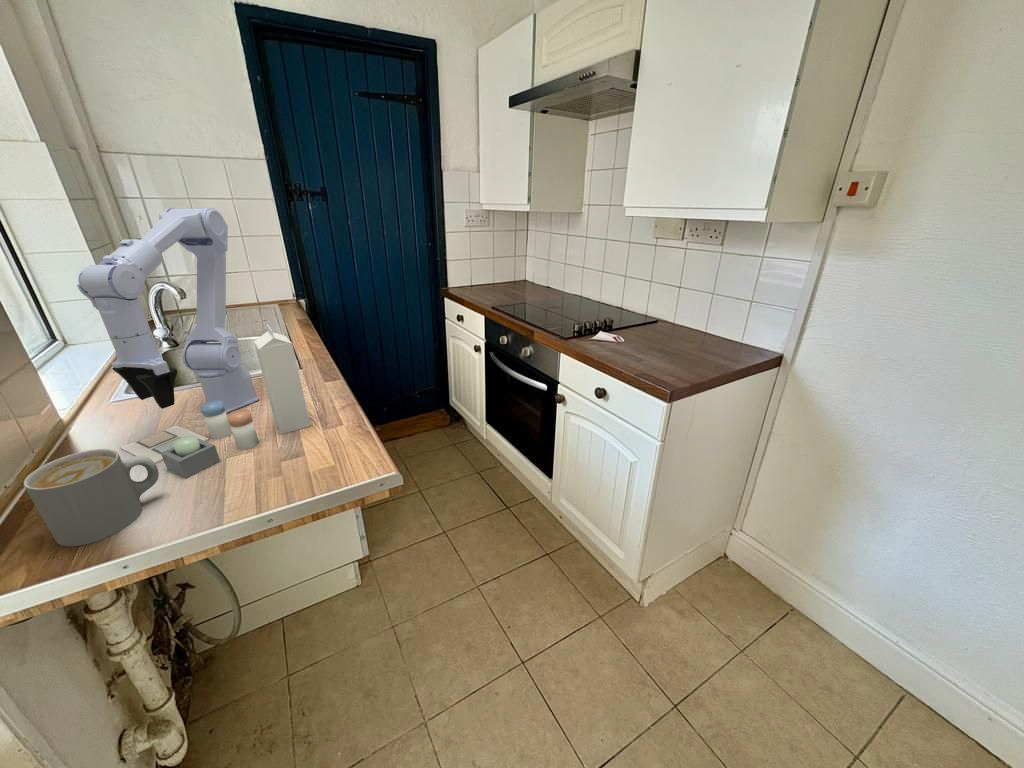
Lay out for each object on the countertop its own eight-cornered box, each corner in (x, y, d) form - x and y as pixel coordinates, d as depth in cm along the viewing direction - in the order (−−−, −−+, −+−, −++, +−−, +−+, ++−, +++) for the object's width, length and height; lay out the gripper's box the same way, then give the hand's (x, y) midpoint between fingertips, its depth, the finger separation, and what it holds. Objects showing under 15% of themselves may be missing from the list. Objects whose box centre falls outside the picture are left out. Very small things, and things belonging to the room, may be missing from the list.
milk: (280, 435, 88) (253, 333, 79) (275, 423, 93) (248, 326, 84) (311, 426, 92) (288, 327, 83) (304, 415, 96) (282, 321, 87)
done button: (196, 449, 80) (190, 433, 79) (207, 454, 78) (201, 438, 77) (174, 459, 77) (168, 442, 76) (185, 464, 76) (179, 447, 74)
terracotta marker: (251, 437, 87) (242, 407, 84) (263, 442, 86) (254, 411, 83) (232, 446, 84) (222, 415, 81) (244, 451, 82) (234, 420, 80)
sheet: (176, 426, 92) (175, 424, 92) (208, 439, 87) (208, 437, 87) (120, 448, 84) (119, 447, 84) (152, 464, 79) (151, 462, 78)
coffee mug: (52, 557, 58) (18, 499, 54) (58, 520, 65) (28, 465, 61) (172, 513, 66) (150, 460, 62) (166, 484, 73) (145, 434, 69)
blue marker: (225, 427, 91) (215, 398, 88) (236, 432, 89) (226, 402, 87) (206, 436, 88) (195, 406, 85) (217, 440, 86) (207, 410, 83)
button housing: (201, 453, 82) (196, 437, 81) (220, 461, 80) (214, 445, 78) (167, 469, 77) (160, 452, 76) (185, 478, 75) (179, 461, 73)
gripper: (84, 334, 76) (113, 402, 81) (122, 346, 69) (152, 419, 75) (131, 324, 81) (156, 388, 87) (171, 334, 75) (195, 403, 80)
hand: (157, 401), depth 81 cm, fingers open, 7 cm apart
